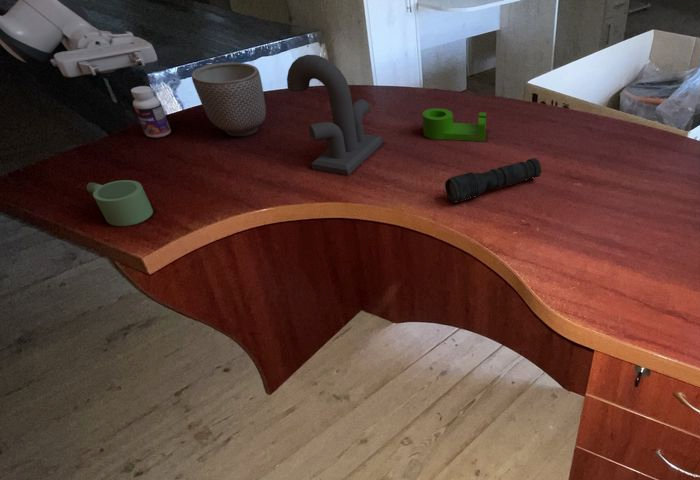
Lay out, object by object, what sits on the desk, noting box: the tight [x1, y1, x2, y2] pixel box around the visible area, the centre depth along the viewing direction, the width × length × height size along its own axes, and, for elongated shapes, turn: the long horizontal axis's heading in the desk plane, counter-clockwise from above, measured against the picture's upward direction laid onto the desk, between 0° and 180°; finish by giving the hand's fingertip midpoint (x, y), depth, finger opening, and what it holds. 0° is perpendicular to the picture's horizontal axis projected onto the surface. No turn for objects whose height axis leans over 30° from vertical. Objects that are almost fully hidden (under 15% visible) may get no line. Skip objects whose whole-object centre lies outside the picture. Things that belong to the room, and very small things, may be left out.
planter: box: [191, 61, 267, 137], centre depth 122 cm, size 14×14×13 cm
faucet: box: [286, 54, 384, 176], centre depth 114 cm, size 18×16×20 cm
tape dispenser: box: [422, 107, 487, 142], centre depth 129 cm, size 15×7×5 cm, turn 89°
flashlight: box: [444, 157, 542, 204], centre depth 109 cm, size 5×21×5 cm, turn 123°
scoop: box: [86, 179, 154, 227], centre depth 97 cm, size 12×8×5 cm, turn 65°
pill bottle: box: [130, 85, 172, 138], centre depth 120 cm, size 5×5×10 cm
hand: (118, 66), depth 122 cm, fingers open, 8 cm apart
